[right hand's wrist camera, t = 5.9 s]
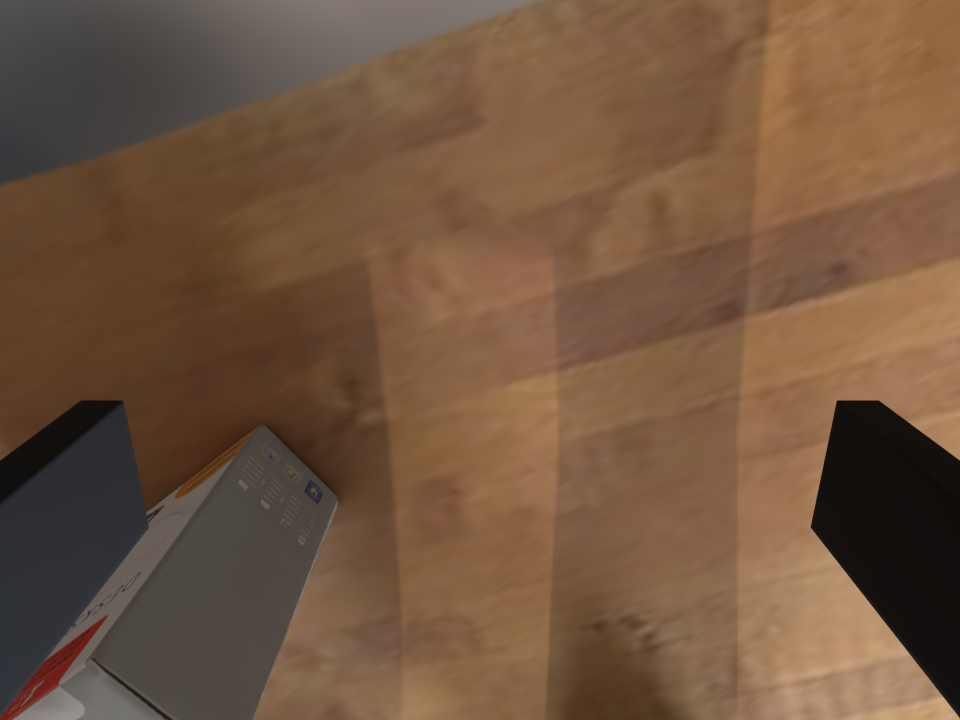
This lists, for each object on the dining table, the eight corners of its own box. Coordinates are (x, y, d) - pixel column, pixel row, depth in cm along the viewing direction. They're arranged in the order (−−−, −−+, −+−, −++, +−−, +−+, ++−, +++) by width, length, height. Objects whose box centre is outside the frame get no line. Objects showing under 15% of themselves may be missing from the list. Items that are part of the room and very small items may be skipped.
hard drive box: (262, 417, 43) (95, 655, 24) (343, 497, 45) (247, 774, 26) (102, 542, 46) (-152, 836, 28) (184, 612, 49) (-1, 928, 30)
